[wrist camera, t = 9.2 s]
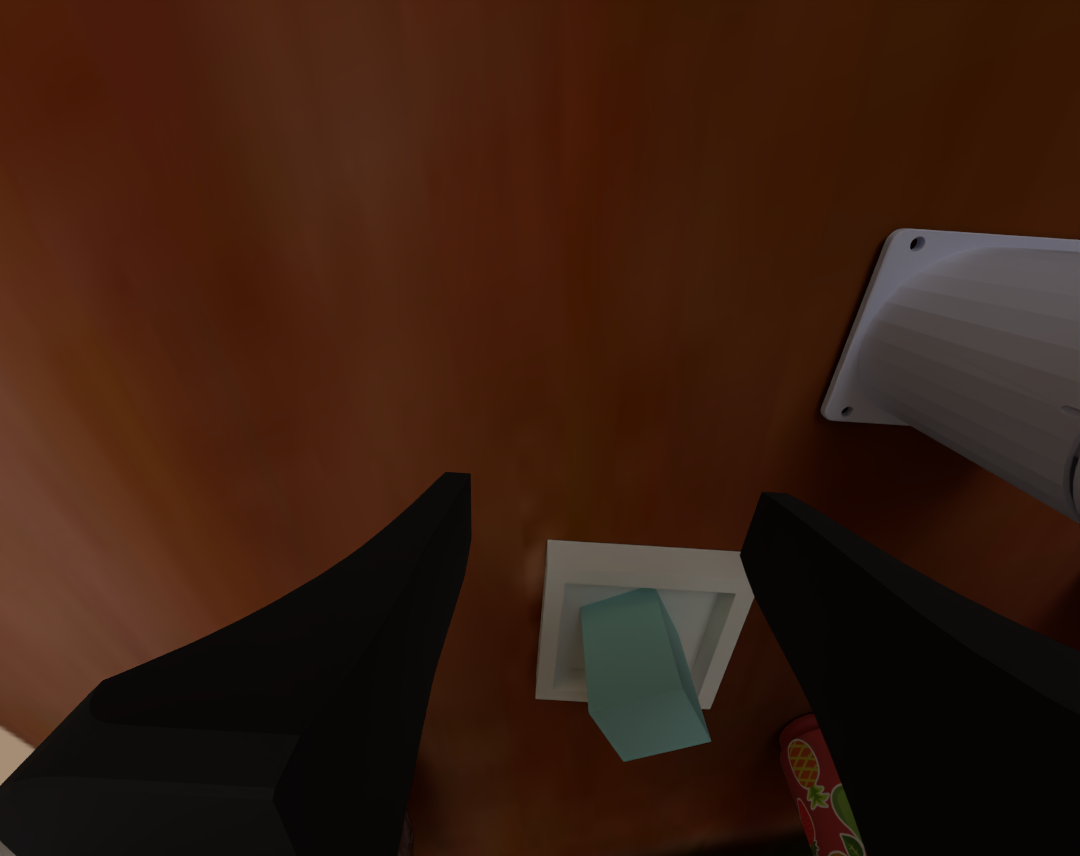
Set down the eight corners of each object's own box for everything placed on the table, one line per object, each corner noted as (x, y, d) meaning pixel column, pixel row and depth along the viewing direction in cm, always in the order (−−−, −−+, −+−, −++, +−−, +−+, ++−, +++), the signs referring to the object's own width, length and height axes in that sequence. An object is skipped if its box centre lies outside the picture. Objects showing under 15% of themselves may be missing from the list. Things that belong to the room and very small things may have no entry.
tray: (744, 552, 24) (760, 580, 22) (699, 676, 29) (710, 709, 27) (547, 539, 24) (547, 567, 22) (536, 667, 29) (535, 698, 27)
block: (653, 583, 24) (682, 688, 19) (678, 632, 26) (711, 741, 21) (580, 607, 25) (588, 712, 20) (609, 653, 27) (623, 761, 22)
